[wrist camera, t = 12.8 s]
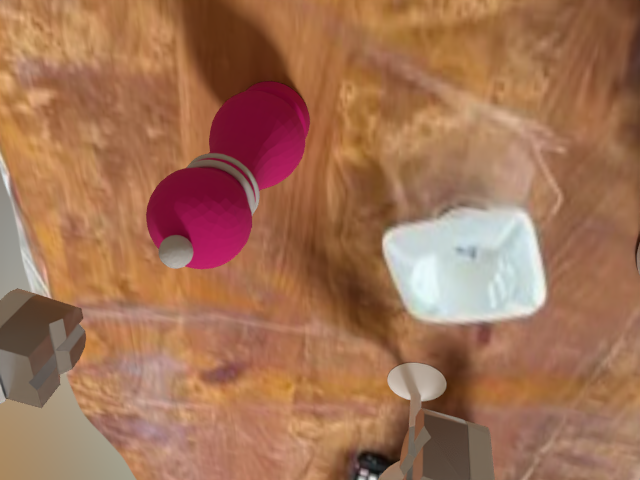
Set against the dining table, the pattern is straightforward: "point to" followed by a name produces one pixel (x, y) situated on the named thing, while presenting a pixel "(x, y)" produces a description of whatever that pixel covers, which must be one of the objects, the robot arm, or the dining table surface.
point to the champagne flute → (413, 396)
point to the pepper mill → (228, 177)
